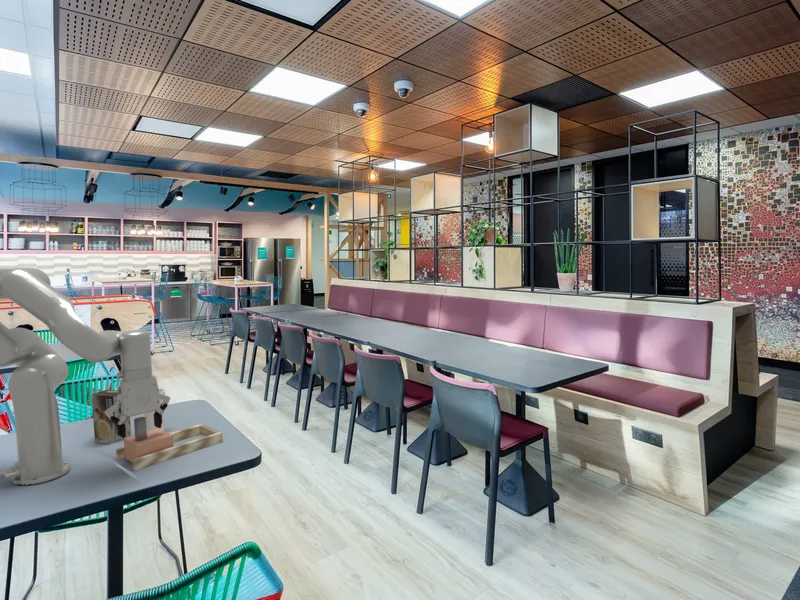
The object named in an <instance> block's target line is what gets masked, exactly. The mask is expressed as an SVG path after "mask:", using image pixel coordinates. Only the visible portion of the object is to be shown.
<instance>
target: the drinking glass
mask: <svg viewBox="0 0 800 600" xmlns="http://www.w3.org/2000/svg"><path fill="white" fill-rule="evenodd" d="M159 394H161V395H165V396H166V391H165V389H164V388H159ZM160 403H161V404H162V403H163V399H160ZM154 413H155V411H151V412H147V413H143V414H144V417H146V429H147V432H148V431H152V430H155V429H161V430H163V431H165V432H166V427H165V425H166V424H165V423H166V422H165V421H166V409H165V410H164V413H163V414H162V424H161V428H157V427H155V426H154Z"/></svg>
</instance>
